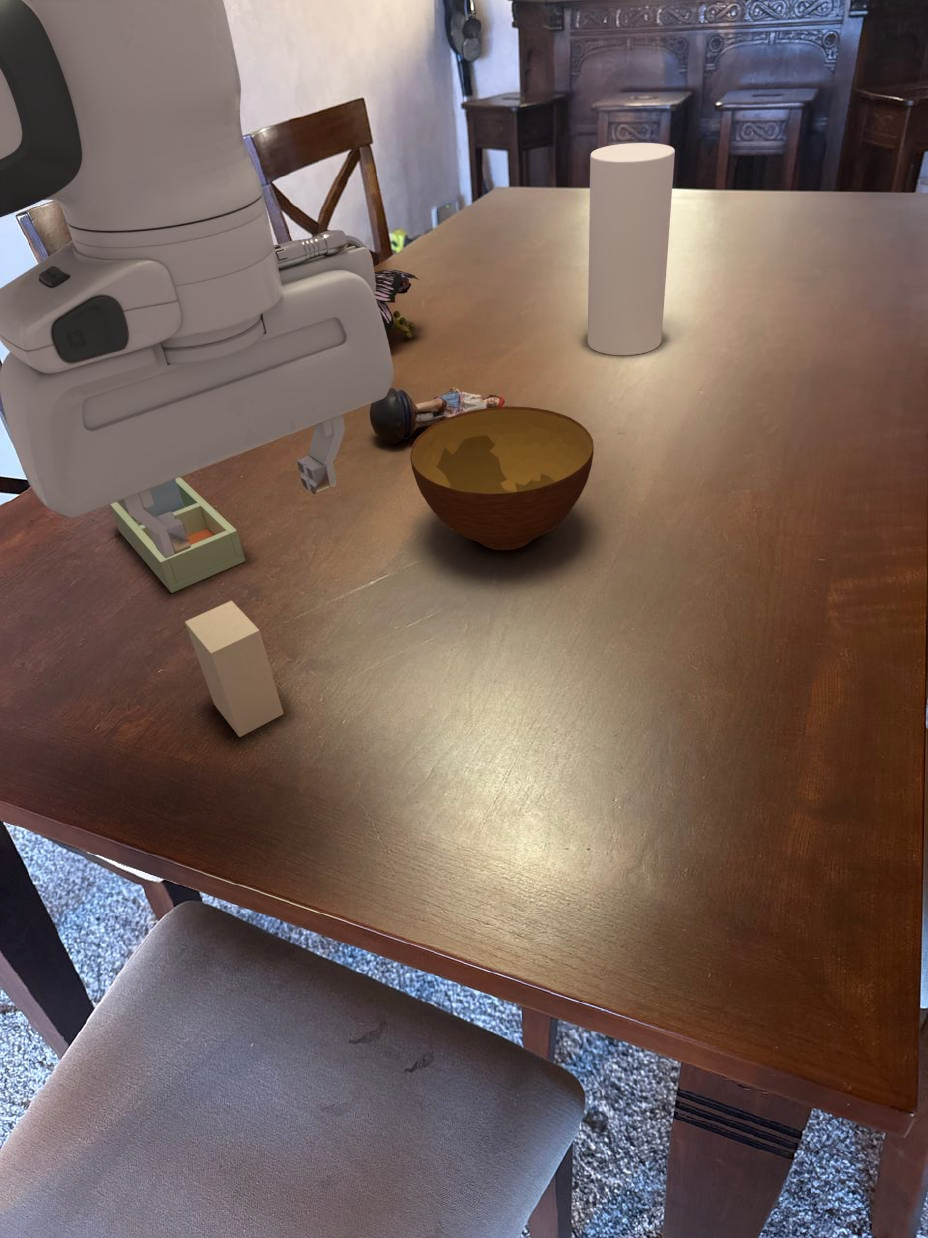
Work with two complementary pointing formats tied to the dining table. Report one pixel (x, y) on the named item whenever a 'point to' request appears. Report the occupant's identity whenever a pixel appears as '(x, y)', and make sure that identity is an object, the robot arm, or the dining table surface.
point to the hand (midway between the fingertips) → (250, 516)
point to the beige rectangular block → (235, 667)
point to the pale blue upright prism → (166, 498)
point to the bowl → (503, 472)
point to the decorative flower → (392, 297)
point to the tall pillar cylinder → (628, 246)
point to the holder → (205, 531)
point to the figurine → (421, 412)
